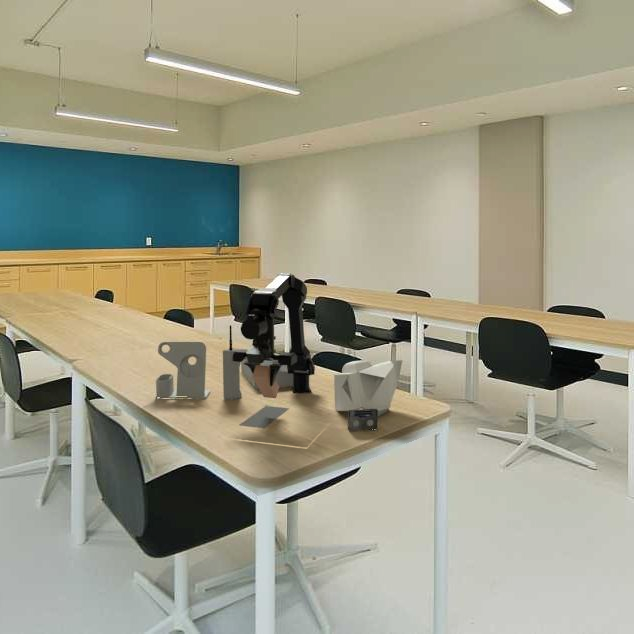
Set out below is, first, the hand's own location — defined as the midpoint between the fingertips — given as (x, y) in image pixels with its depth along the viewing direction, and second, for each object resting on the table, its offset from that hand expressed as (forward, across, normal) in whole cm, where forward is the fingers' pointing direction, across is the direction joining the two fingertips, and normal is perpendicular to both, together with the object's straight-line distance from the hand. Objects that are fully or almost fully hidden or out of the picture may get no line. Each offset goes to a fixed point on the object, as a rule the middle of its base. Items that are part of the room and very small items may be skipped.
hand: (264, 385), depth 170 cm
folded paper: (+10, +30, +17) cm, 36 cm away
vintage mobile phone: (+10, -18, +16) cm, 26 cm away
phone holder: (+10, -36, +14) cm, 40 cm away
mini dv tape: (+10, +30, -1) cm, 32 cm away
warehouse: (+11, -19, +46) cm, 51 cm away
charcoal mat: (+10, 0, 0) cm, 10 cm away
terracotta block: (+3, 0, +5) cm, 6 cm away
